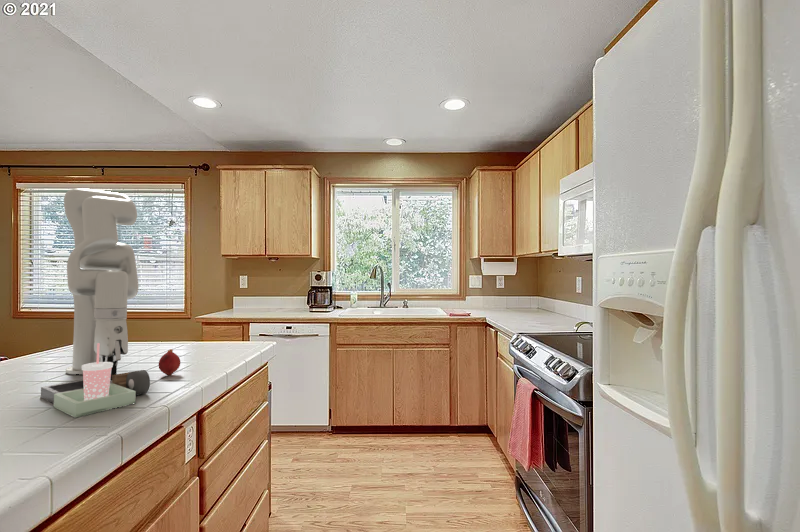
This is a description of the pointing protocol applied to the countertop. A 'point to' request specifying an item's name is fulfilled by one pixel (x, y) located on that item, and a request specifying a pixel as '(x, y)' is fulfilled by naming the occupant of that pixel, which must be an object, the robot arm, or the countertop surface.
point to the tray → (93, 401)
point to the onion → (169, 363)
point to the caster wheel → (138, 381)
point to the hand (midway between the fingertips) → (108, 380)
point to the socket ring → (60, 389)
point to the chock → (120, 379)
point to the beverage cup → (96, 378)
